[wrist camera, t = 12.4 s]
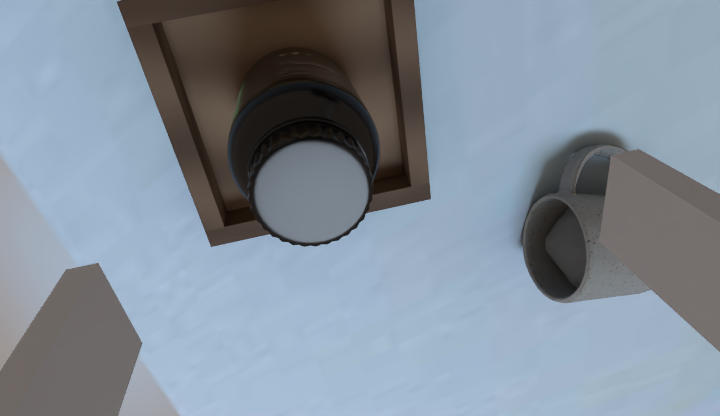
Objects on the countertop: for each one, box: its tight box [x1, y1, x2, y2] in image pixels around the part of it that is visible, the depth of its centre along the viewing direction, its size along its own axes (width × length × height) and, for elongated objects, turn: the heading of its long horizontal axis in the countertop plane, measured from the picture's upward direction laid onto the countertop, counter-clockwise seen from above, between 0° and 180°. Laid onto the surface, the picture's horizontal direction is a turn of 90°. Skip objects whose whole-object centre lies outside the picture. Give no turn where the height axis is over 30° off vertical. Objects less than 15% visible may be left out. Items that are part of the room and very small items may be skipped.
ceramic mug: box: [522, 144, 651, 303], centre depth 33 cm, size 11×8×8 cm
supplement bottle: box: [227, 47, 380, 247], centre depth 23 cm, size 7×7×12 cm
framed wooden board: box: [117, 0, 431, 247], centre depth 26 cm, size 20×15×3 cm
